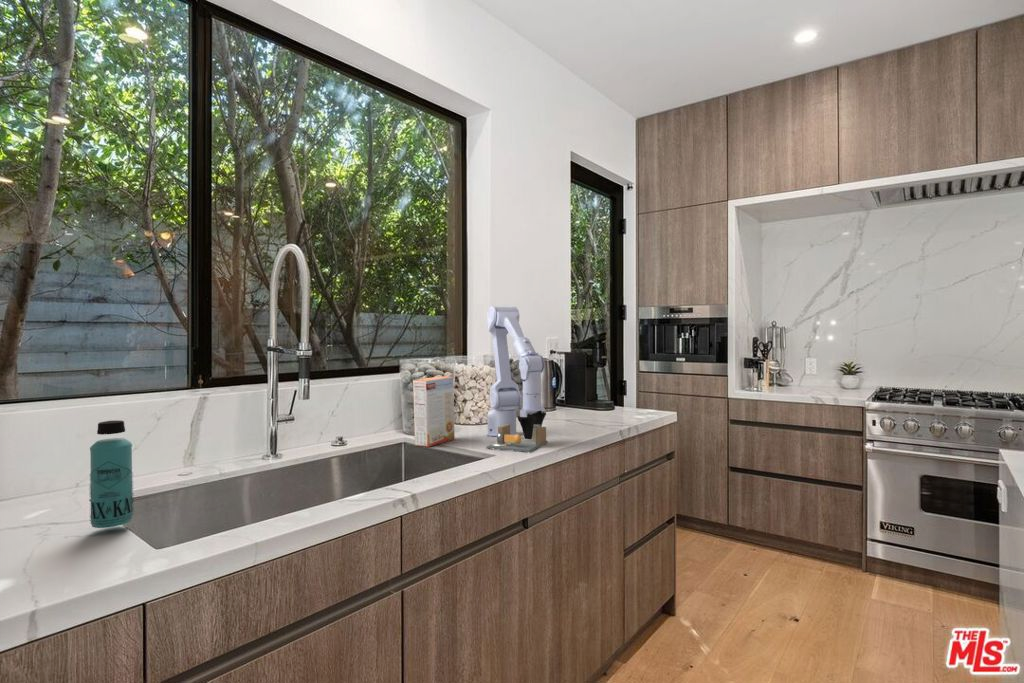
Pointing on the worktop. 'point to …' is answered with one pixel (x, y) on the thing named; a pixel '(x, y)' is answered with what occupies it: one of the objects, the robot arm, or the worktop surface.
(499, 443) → the gauge dial
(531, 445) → the rail board
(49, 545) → the worktop surface
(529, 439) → the beige block
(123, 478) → the beverage bottle
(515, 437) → the gauge lever
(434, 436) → the cracker box
